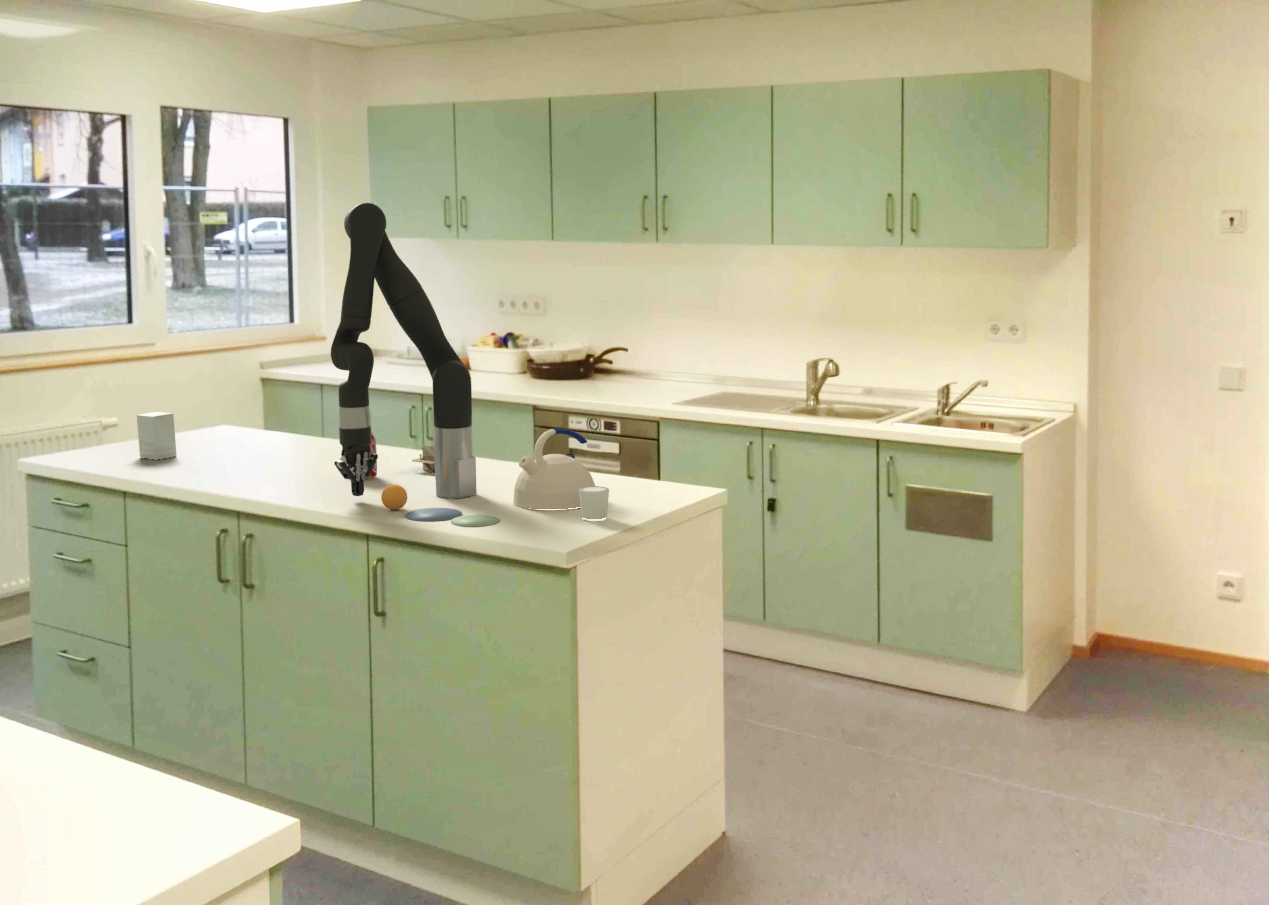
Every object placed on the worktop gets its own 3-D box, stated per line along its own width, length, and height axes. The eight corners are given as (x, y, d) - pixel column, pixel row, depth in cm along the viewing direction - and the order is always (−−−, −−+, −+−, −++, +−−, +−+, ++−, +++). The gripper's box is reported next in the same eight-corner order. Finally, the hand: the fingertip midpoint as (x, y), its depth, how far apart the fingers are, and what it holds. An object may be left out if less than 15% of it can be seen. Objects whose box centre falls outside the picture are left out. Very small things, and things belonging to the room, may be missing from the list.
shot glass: (573, 519, 297) (572, 489, 296) (592, 514, 302) (592, 484, 301) (596, 523, 293) (596, 493, 291) (615, 518, 298) (615, 488, 297)
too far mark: (509, 519, 297) (509, 519, 296) (475, 529, 288) (475, 528, 288) (475, 513, 303) (475, 512, 303) (440, 522, 295) (440, 521, 295)
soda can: (371, 481, 340) (369, 435, 338) (345, 480, 341) (343, 434, 339) (381, 475, 347) (379, 431, 344) (356, 474, 348) (354, 430, 346)
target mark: (473, 513, 303) (473, 512, 303) (432, 524, 293) (432, 523, 293) (434, 506, 311) (434, 505, 311) (393, 516, 301) (393, 515, 301)
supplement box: (177, 456, 375) (174, 413, 373) (155, 460, 369) (152, 416, 367) (160, 454, 379) (157, 411, 377) (138, 458, 373) (135, 414, 370)
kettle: (494, 502, 315) (493, 428, 312) (559, 489, 329) (558, 419, 326) (549, 516, 301) (548, 439, 298) (614, 502, 315) (614, 428, 312)
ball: (415, 494, 306) (401, 477, 309) (395, 498, 301) (381, 481, 304) (406, 513, 309) (392, 496, 311) (386, 517, 304) (372, 500, 307)
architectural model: (433, 475, 349) (432, 448, 347) (412, 473, 352) (411, 446, 351) (440, 473, 352) (439, 446, 350) (420, 471, 355) (419, 444, 354)
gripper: (362, 419, 320) (365, 488, 323) (323, 427, 309) (326, 498, 312) (385, 422, 316) (388, 492, 319) (346, 429, 305) (349, 502, 308)
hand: (357, 495), depth 316 cm, fingers closed
